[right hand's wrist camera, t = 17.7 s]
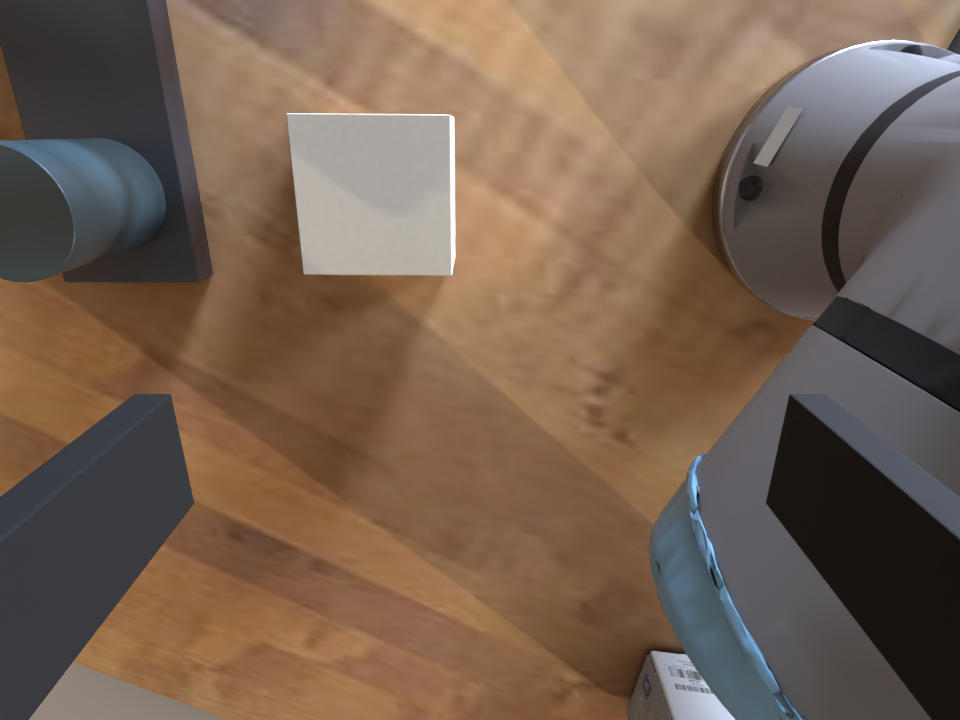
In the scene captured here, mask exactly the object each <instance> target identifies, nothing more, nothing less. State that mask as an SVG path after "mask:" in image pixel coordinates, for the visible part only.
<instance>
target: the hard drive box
mask: <svg viewBox="0 0 960 720" xmlns="http://www.w3.org/2000/svg"><path fill="white" fill-rule="evenodd" d="M626 713H627V717H628V720H736V719H735V718H734V717H733V716H732V715H731V714H730V713H729V712H728V711H727V709H726V708H725V707H724V706H723V705H722V704H721V702H720V701H719V700H718V698H717V697H716V696H715V694H714V693H713V692H712V691H711V689H710V688H709V687H708V685H707V684H706V683H705V681H704V680H703V678H702V677H701V675H700V674H699V673H698V671H697V670H696V668H695V667H694V665H693V664H692V662H691V661H690V659H689V658H688V656H687V654H674V653H666V652H659V651H651V653H650V654H647V657H646V659H645V662H644V665H643V667H642V670H641V673H640V676H639V678H638V681H637V684H636V686H635V689H634V692H633V695H632V697H631V700H630V703H629V705H628V708H627V712H626Z"/></svg>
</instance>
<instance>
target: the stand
mask: <svg viewBox="0 0 960 720" xmlns="http://www.w3.org/2000/svg"><path fill="white" fill-rule="evenodd" d="M0 44H1V47H2V51H3V55H4V59H5V62H6V66H7V70H8V73H9V77H10V81H11V84H12V88H13V92H14V95H15V99H16V103H17V107H18V110H19V114H20V118H21V121H22V125H23V129H24V132H25V136H26V140H0V278H1V279H5V280H9V281H15V282H34V281H39V280H43V279H46V278H48V277H51V276H54V275H57V274H60V273H63V276H64V280H65V282H200V281H201V280H203V279H205V278H207V277H209V276H211V275H213V271H212V266H211V260H210V254H209V248H208V243H207V237H206V231H205V225H204V220H203V214H202V208H201V202H200V197H199V191H198V185H197V179H196V174H195V168H194V162H193V156H192V150H191V145H190V139H189V133H188V127H187V122H186V116H185V110H184V104H183V99H182V93H181V87H180V81H179V76H178V70H177V64H176V58H175V53H174V47H173V41H172V35H171V30H170V24H169V18H168V12H167V7H166V1H165V0H0Z"/></svg>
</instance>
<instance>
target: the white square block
mask: <svg viewBox="0 0 960 720" xmlns="http://www.w3.org/2000/svg"><path fill="white" fill-rule="evenodd" d="M286 116H287V125H288V134H289V144H290V153H291V163H292V172H293V181H294V191H295V200H296V210H297V219H298V229H299V238H300V247H301V257H302V266H303V274H304V275H417V276H452V272H453V267H454V261H455V133H454V117H453V116H451V115H433V114H314V113H287V114H286Z"/></svg>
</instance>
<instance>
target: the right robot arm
mask: <svg viewBox="0 0 960 720" xmlns="http://www.w3.org/2000/svg"><path fill="white" fill-rule="evenodd" d="M713 223H714V229H715V235H716V239H717V243H718V246H719V249H720V252H721V254H722V257H723V259H724V261H725V263H726V265H727V267H728V268H729V270H730V271H731V273H732V274H733V276H734V277H735V278H736V279H737V280H738V281H739V283H740V284H741V285H742V286H743V287H744V288H745V289H747V290H748V291H749V292H750V293H751V294H753V295H754V296H755V297H757V298H758V299H760V300H762V301H763V302H765V303H767V304H768V305H770V306H772V307H773V308H775V309H777V310H779V311H781V312H784V313H786V314H788V315H791V316H795V317H798V318H802V319H807V320H812V321H816V322H815V323H813V325H814V326H813V325H811V326H810V327H809V328H808V330H807V331H806V332H805V333H804V335H803V336H802V337H801V338H800V339H799V341H798V342H797V343H796V344H795V346H794V347H793V348H792V349H791V351H790V352H789V353H788V354H787V356H786V357H785V358H784V359H783V360H782V362H781V363H780V364H779V365H778V367H777V368H776V369H775V370H774V372H773V373H772V374H771V375H770V377H769V378H768V379H767V380H766V381H765V383H764V384H763V385H762V386H761V388H760V389H759V390H758V391H757V393H756V394H755V395H754V396H753V398H752V399H751V400H750V401H749V402H748V404H747V405H746V406H745V407H744V409H743V410H742V411H741V412H740V414H739V415H738V416H737V417H736V419H735V420H734V421H733V422H732V423H731V425H730V426H729V427H728V428H727V430H726V431H725V432H724V433H723V435H722V436H721V437H720V438H719V440H718V441H717V442H716V443H715V444H714V446H713V447H712V448H711V449H710V450H709V452H708V453H705V454H703V455H701V456H697V457H696V458H695V459H694V461H693V462H692V463H691V465H690V467H689V469H688V473H687V477H686V479H685V480H684V482H683V483H682V484H681V486H680V487H679V488H678V490H677V491H676V493H675V494H674V495H673V497H672V498H671V500H670V501H669V502H668V504H667V505H666V506H665V508H664V509H663V511H662V512H661V513H660V515H659V517H658V518H657V520H656V522H655V524H654V527H653V530H652V533H651V539H650V548H649V554H650V563H651V570H652V575H653V578H654V580H655V583H656V585H657V588H658V589H657V591H658V597H659V600H660V603H661V606H662V608H663V610H664V613H665V615H666V617H667V619H668V621H669V623H670V625H671V627H672V629H673V631H674V633H675V635H676V637H677V639H678V641H679V643H680V644H681V646H682V648H683V649H684V651H685V653H686V654H687V656H688V658H689V659H690V661H691V662H692V664H693V665H694V667H695V668H696V670H697V671H698V673H699V674H700V675H701V677H702V678H703V680H704V681H705V683H706V684H707V685H708V687H709V688H710V689H711V691H712V692H713V693H714V694H715V696H716V697H717V698H718V700H719V701H720V702H721V704H722V705H723V706H724V707H725V708H726V709H727V711H728V712H729V713H730V714H731V715H732V716H733V717H734V718H735V719H736V720H960V29H959V31H958V33H957V34H956V36H955V38H954V39H953V41H952V43H951V44H950V46H949V48H948V49H947V50H946V49H943V48H940V47H937V46H933V45H929V44H925V43H918V42H911V41H903V40H886V41H877V42H870V43H865V44H861V45H856V46H851V47H847V48H842V49H839V50H836V51H833V52H830V53H827V54H824V55H822V56H820V57H817V58H815V59H813V60H811V61H809V62H807V63H805V64H803V65H801V66H800V67H798V68H797V69H795V70H794V71H792V72H791V73H789V74H787V75H786V76H785V77H784V78H782V79H781V80H780V81H778V82H777V83H776V84H775V85H774V86H773V87H771V88H770V89H769V90H768V91H767V92H766V93H765V94H764V95H763V96H762V97H761V98H760V99H759V100H758V101H757V103H756V104H755V105H754V106H753V107H752V108H751V110H750V111H749V112H748V114H747V115H746V116H745V117H744V119H743V120H742V122H741V123H740V125H739V127H738V128H737V130H736V131H735V133H734V135H733V137H732V139H731V140H730V142H729V144H728V147H727V149H726V151H725V154H724V156H723V159H722V162H721V165H720V167H719V171H718V175H717V179H716V183H715V190H714V197H713ZM193 504H194V500H193V495H192V491H191V486H190V481H189V477H188V472H187V467H186V463H185V458H184V454H183V449H182V444H181V440H180V435H179V430H178V426H177V421H176V417H175V412H174V407H173V403H172V398H171V394H134V395H133V396H131V397H130V398H129V399H128V400H126V401H125V402H124V403H122V404H121V405H120V406H118V407H117V408H116V409H114V410H113V411H112V412H111V413H109V414H108V415H107V416H105V417H104V418H103V419H101V420H100V421H99V422H97V423H96V424H95V425H94V426H92V427H91V428H90V429H88V430H87V431H86V432H84V433H83V434H82V435H81V436H79V437H78V438H77V439H75V440H74V441H73V442H71V443H70V444H69V445H67V446H66V447H65V448H64V449H62V450H61V451H60V452H58V453H57V454H56V455H54V456H53V457H52V458H50V459H49V460H48V461H47V462H45V463H44V464H43V465H41V466H40V467H39V468H37V469H36V470H35V471H34V472H32V473H31V474H30V475H28V476H27V477H26V478H24V479H23V480H22V481H20V482H19V483H18V484H17V485H15V486H14V487H13V488H11V489H10V490H9V491H7V492H6V493H5V494H3V495H2V496H1V497H0V720H29V718H30V717H31V716H32V714H33V713H34V712H35V711H36V709H37V708H38V707H39V705H40V704H41V703H42V701H43V700H44V699H45V698H46V696H47V695H48V694H49V692H50V691H51V690H52V688H53V687H54V686H55V684H56V683H57V682H58V680H59V679H60V678H61V677H62V675H63V674H64V673H65V671H66V670H67V669H68V667H69V666H70V665H71V664H72V662H73V661H74V660H75V658H76V657H77V656H78V654H79V653H80V652H81V650H82V649H83V648H84V647H85V645H86V644H87V643H88V641H89V640H90V639H91V637H92V636H93V635H94V633H95V632H96V631H97V630H98V628H99V627H100V626H101V624H102V623H103V622H104V620H105V619H106V618H107V616H108V615H109V614H110V613H111V611H112V610H113V609H114V607H115V606H116V605H117V603H118V602H119V601H120V599H121V598H122V597H123V596H124V594H125V593H126V592H127V590H128V589H129V588H130V586H131V585H132V584H133V582H134V581H135V580H136V579H137V577H138V576H139V575H140V573H141V572H142V571H143V569H144V568H145V567H146V566H147V564H148V563H149V562H150V560H151V559H152V558H153V556H154V555H155V554H156V552H157V551H158V550H159V549H160V547H161V546H162V545H163V543H164V542H165V541H166V539H167V538H168V537H169V535H170V534H171V533H172V532H173V530H174V529H175V528H176V526H177V525H178V524H179V522H180V521H181V520H182V518H183V517H184V516H185V515H186V513H187V512H188V511H189V509H190V508H191V507H192V505H193Z"/></svg>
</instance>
